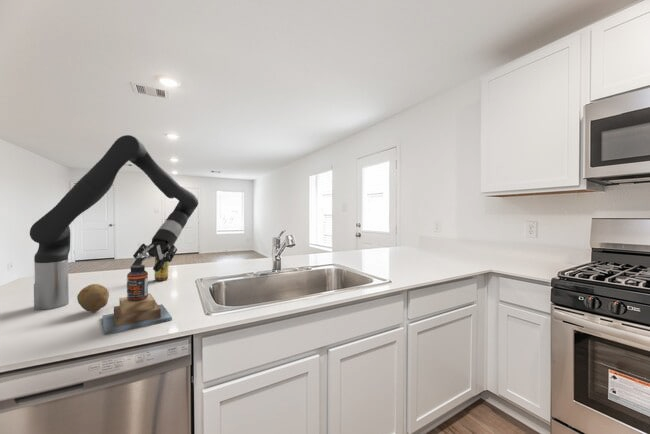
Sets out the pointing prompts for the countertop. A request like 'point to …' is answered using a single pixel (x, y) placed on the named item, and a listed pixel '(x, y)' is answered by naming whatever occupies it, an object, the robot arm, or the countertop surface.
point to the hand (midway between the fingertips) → (144, 269)
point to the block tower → (134, 315)
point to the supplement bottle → (137, 283)
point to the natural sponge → (93, 297)
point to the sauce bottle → (162, 271)
